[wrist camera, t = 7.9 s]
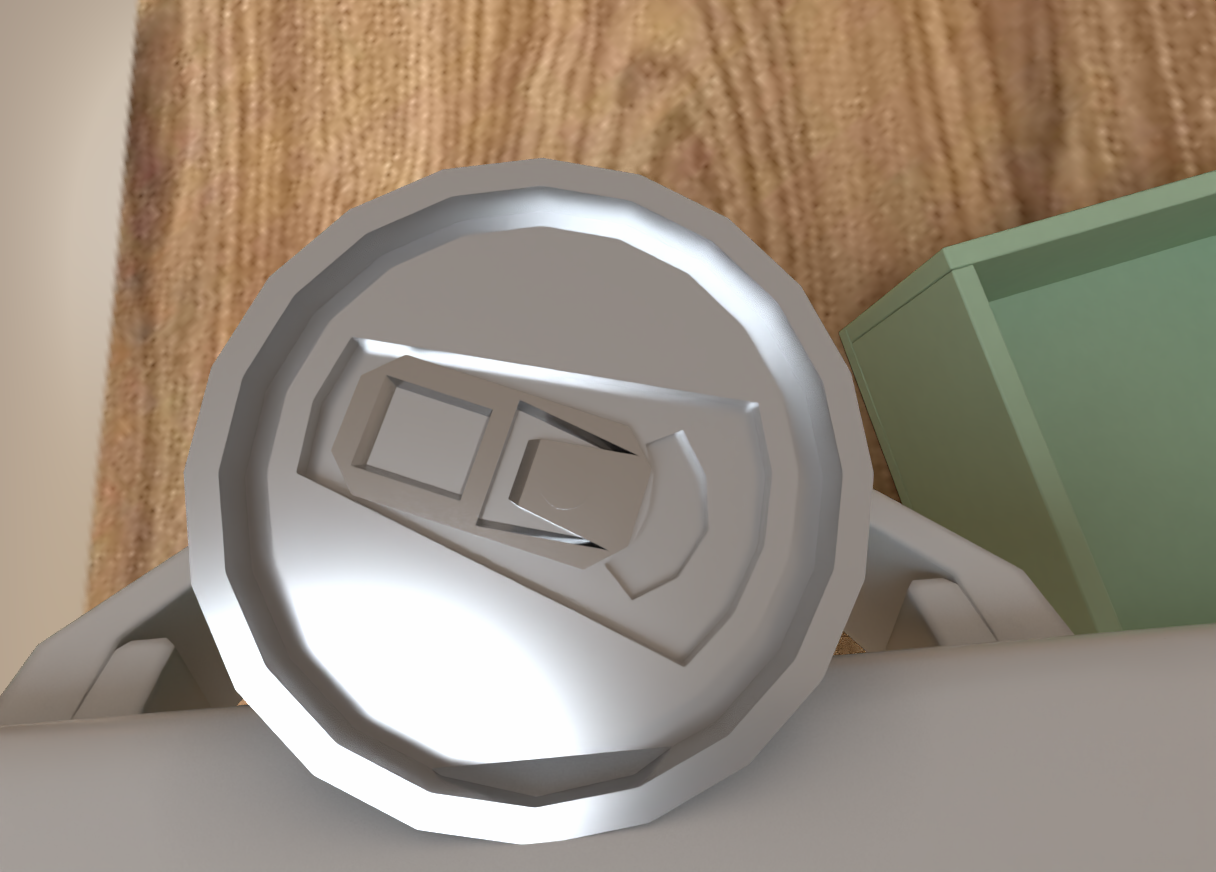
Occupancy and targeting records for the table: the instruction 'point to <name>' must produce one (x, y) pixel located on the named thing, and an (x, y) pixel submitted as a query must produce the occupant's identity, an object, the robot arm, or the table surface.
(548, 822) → the beer can
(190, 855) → the robot arm
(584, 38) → the table surface
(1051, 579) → the green open box
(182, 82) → the table surface
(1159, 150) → the table surface
